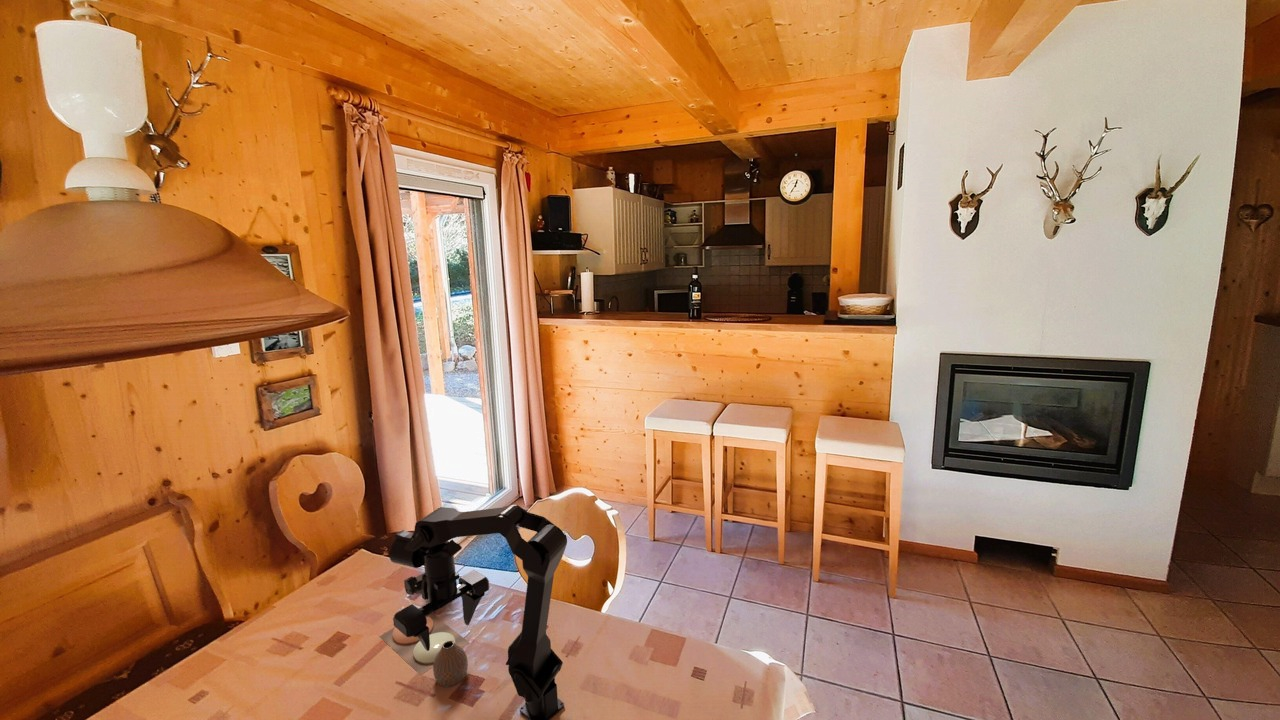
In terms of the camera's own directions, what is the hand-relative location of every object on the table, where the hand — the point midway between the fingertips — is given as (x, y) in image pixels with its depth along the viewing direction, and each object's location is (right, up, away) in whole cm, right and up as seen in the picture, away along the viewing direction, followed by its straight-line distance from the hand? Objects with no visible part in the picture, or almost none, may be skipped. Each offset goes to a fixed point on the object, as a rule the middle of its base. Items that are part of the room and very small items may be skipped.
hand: (447, 636), depth 110 cm
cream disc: (-7, -8, +10) cm, 14 cm away
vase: (0, -11, +2) cm, 11 cm away
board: (-10, -8, +13) cm, 19 cm away
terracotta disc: (-14, -7, +16) cm, 22 cm away
